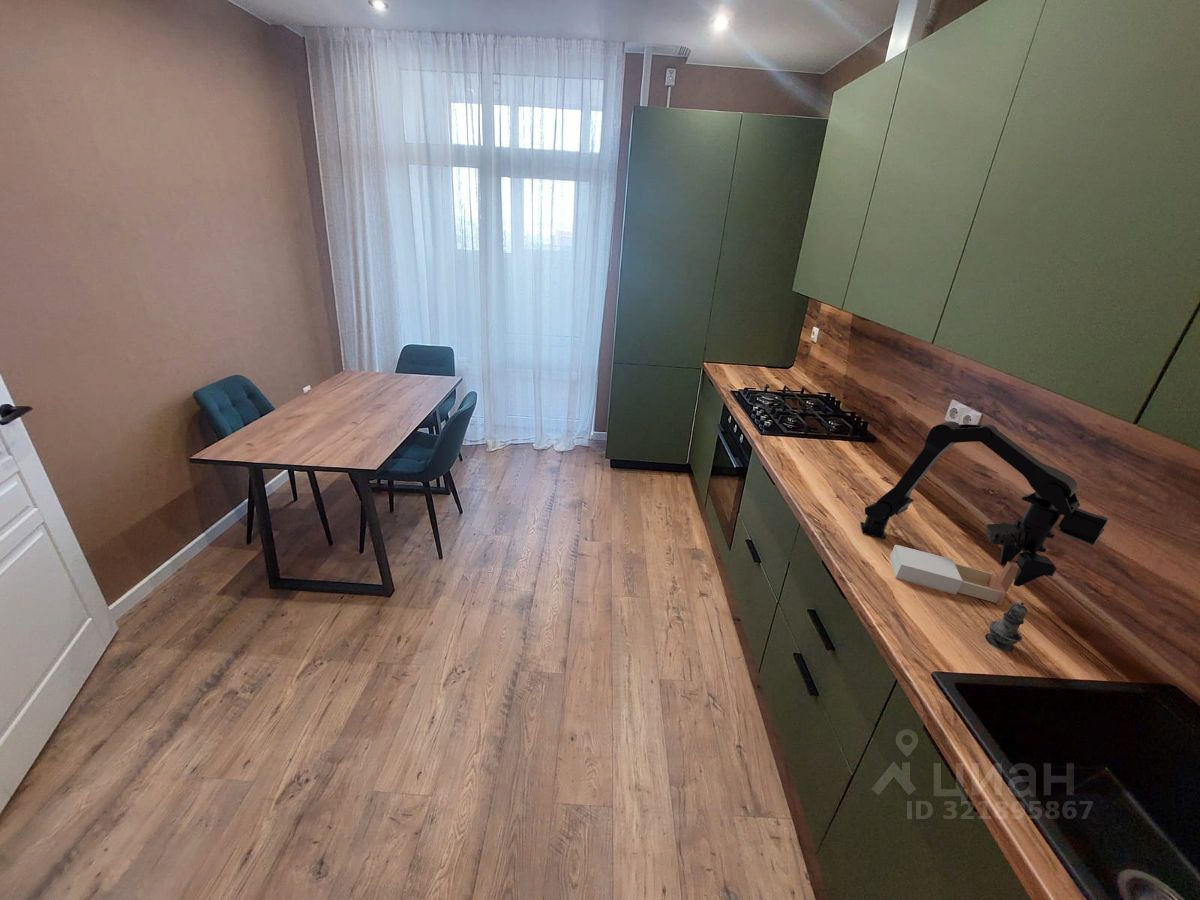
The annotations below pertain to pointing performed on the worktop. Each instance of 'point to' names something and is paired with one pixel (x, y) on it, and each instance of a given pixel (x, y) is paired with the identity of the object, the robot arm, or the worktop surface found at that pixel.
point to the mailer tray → (987, 582)
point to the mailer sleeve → (925, 569)
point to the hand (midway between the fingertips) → (1009, 574)
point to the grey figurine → (1007, 628)
